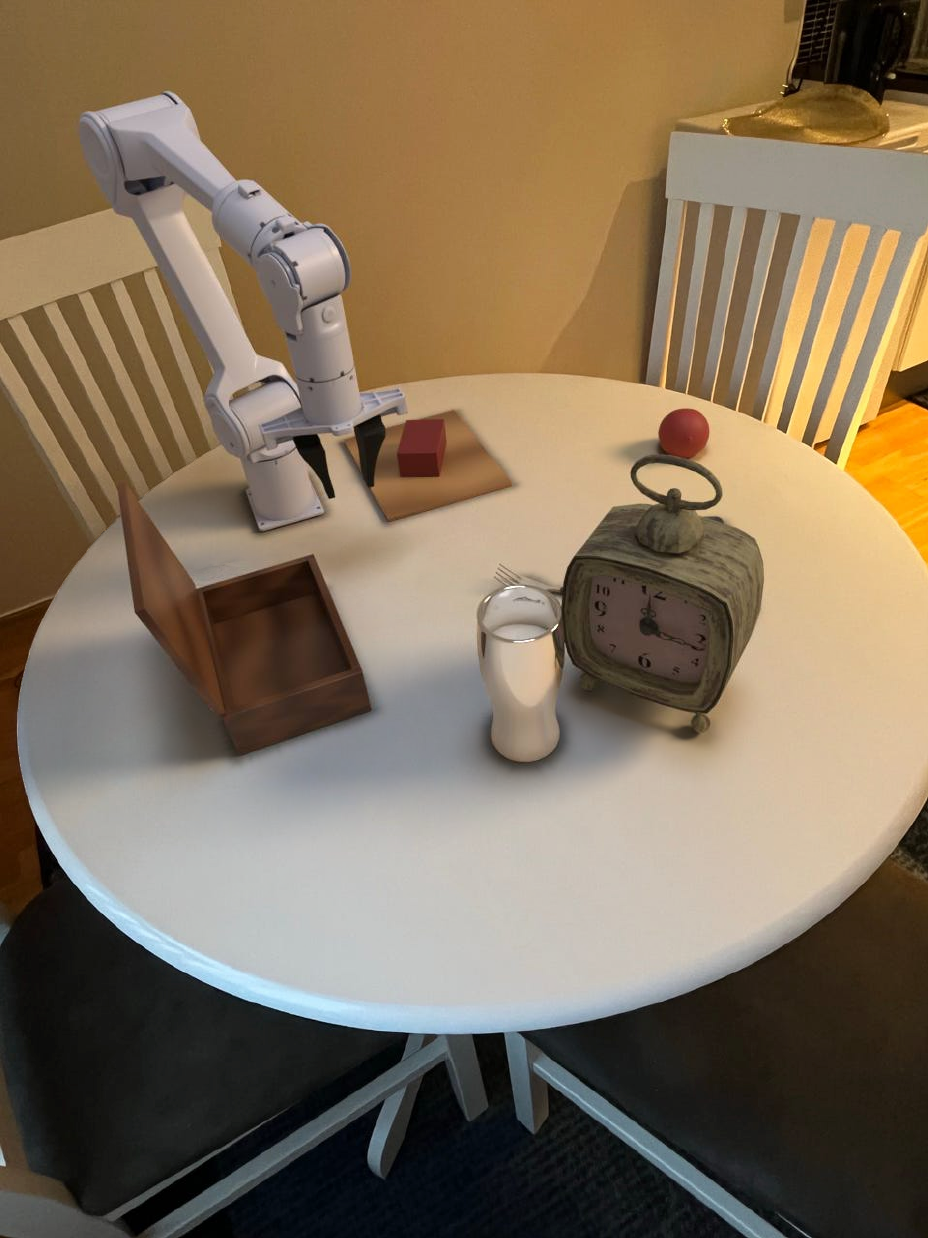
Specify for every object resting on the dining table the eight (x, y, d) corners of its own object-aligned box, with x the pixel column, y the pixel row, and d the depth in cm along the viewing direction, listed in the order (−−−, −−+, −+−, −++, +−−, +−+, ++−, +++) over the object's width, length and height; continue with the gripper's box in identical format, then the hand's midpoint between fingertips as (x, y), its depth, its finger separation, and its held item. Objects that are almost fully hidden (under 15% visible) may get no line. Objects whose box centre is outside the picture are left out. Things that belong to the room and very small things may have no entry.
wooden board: (344, 442, 113) (343, 439, 112) (454, 412, 116) (454, 409, 116) (388, 522, 99) (387, 518, 98) (511, 485, 102) (511, 482, 102)
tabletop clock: (561, 693, 77) (560, 463, 60) (602, 632, 82) (613, 405, 65) (713, 752, 71) (761, 515, 54) (747, 682, 76) (801, 446, 59)
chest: (323, 591, 90) (313, 553, 87) (372, 710, 78) (362, 671, 74) (208, 626, 88) (193, 589, 84) (238, 756, 75) (222, 718, 71)
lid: (124, 481, 74) (116, 484, 74) (144, 607, 61) (134, 612, 61) (195, 584, 84) (188, 587, 84) (225, 713, 71) (216, 717, 71)
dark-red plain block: (400, 477, 105) (396, 453, 102) (409, 442, 110) (406, 419, 108) (439, 476, 104) (436, 452, 101) (446, 442, 110) (444, 418, 107)
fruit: (656, 470, 105) (662, 439, 98) (656, 429, 107) (662, 396, 99) (706, 470, 105) (716, 439, 97) (705, 429, 106) (715, 395, 99)
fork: (646, 613, 84) (647, 599, 83) (494, 591, 88) (493, 577, 87) (649, 596, 86) (651, 582, 84) (500, 576, 90) (499, 561, 89)
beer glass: (541, 779, 70) (537, 656, 60) (471, 747, 73) (456, 625, 63) (578, 722, 74) (580, 598, 64) (510, 695, 77) (502, 572, 67)
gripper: (256, 406, 74) (290, 527, 83) (410, 366, 77) (426, 488, 87) (242, 373, 79) (276, 491, 88) (387, 337, 82) (405, 455, 91)
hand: (349, 487), depth 88 cm, fingers open, 4 cm apart
